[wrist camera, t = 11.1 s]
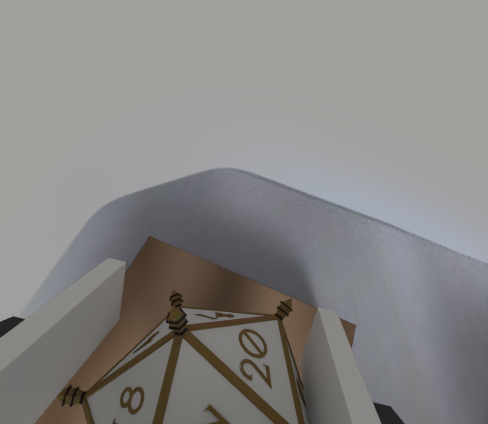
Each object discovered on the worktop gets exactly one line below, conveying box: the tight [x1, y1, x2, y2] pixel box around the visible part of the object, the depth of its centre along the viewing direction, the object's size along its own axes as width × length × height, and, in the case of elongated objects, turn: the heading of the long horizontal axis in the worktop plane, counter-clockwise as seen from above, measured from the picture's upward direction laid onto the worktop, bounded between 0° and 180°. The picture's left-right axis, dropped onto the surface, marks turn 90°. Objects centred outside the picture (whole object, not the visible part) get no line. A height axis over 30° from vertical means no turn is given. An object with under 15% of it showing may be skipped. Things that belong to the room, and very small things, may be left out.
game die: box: [57, 289, 310, 424], centre depth 10 cm, size 9×8×10 cm
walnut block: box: [34, 236, 356, 424], centre depth 18 cm, size 14×14×6 cm
